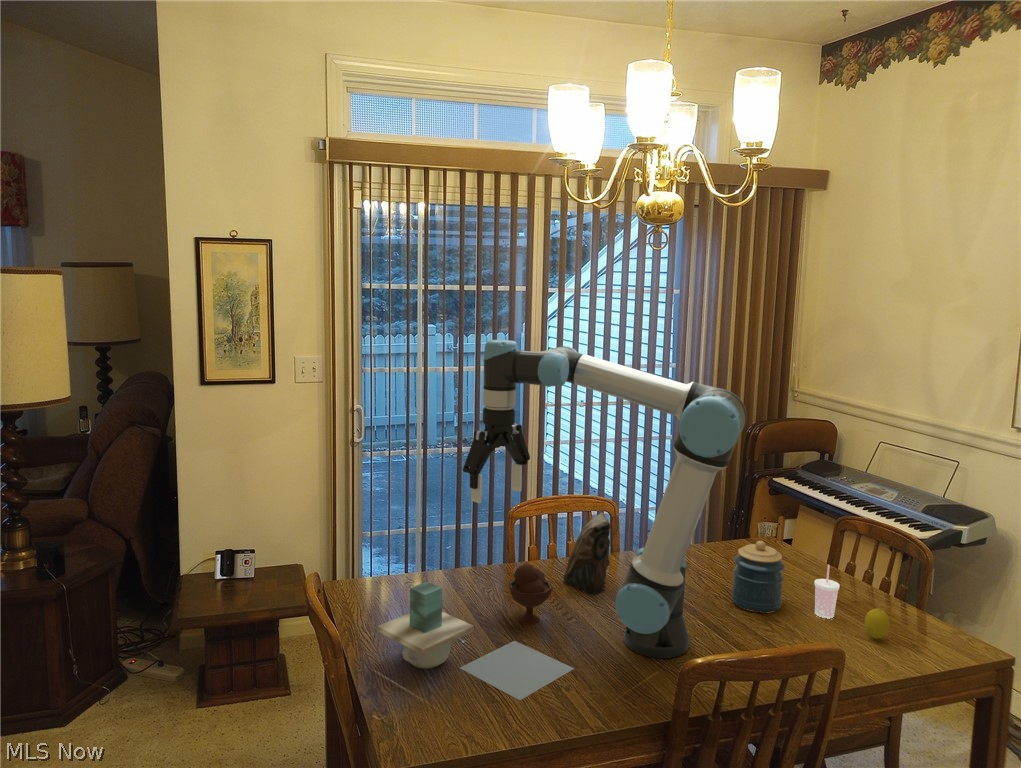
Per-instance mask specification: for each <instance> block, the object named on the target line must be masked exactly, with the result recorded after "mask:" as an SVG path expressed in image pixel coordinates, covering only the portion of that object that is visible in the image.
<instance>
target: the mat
mask: <svg viewBox="0 0 1021 768" xmlns="http://www.w3.org/2000/svg"><path fill="white" fill-rule="evenodd" d="M459 669H460V670H461V671H464V672H466V673H468V674H470V675H471V676H473V677H475V678H477V679H479V680H481V681H483V682H484V683H486V684H488V685H491V687H494V688H495V689H498V690H499V691H501V692H503V693H505V694H507V695H509V696H510V697H513V698H514V699H516V700H518V701H521V700H523V699H526V698H527V697H529V696H531V695H532V694H533V693H535V692H537V691H539V690H541V689H542V688H544V687H545V686H547V685H549V684H551V683H552V682H555V681H556V680H558V679H559V678H562V677H563V676H564V675H566V674H567V673H570V672H572V671H573V670H575V668H574V667H572V666H570V665H568V664H565V663H563V662H562V661H559V660H557V659H555V658H553V657H550V656H549V655H546V654H544V653H542V652H540V651H538V650H536V649H533V648H531V647H529V646H528V645H525V644H523V643H520V642H518V641H516V640H513V641H511V642H509V643H507V644H505V645H503V646H501V647H499V648H497V649H495V650H492V651H491V652H489V653H487V654H485V655H483V656H481V657H479V658H476V659H474V660H473V661H471V662H469V663H467V664H464V665H463V666H460V667H459Z"/></svg>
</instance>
